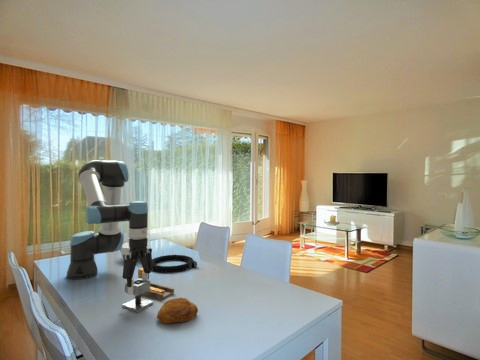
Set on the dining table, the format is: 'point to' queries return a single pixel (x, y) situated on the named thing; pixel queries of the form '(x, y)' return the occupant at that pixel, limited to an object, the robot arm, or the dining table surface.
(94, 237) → the robot arm
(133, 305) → the square plate with peg
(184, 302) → the croissant
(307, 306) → the dining table surface
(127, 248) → the bowl
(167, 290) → the rail
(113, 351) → the dining table surface
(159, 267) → the cable lock
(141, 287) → the square hollow frame
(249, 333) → the dining table surface
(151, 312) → the dining table surface
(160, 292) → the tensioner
